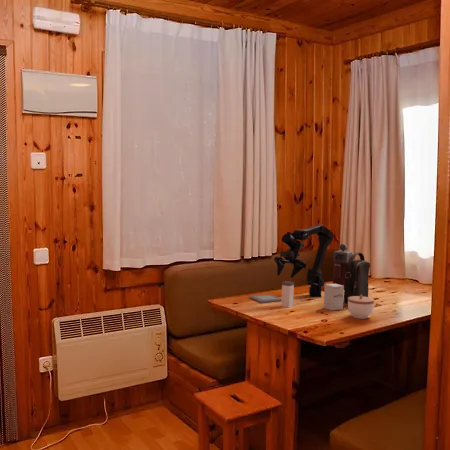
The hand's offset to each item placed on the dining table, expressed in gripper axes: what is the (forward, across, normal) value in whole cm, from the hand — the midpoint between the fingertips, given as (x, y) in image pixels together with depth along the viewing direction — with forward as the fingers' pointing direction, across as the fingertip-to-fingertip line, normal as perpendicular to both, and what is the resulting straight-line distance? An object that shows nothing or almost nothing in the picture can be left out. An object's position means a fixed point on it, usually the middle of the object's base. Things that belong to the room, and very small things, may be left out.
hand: (284, 276), depth 284 cm
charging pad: (+13, -12, +6) cm, 19 cm away
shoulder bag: (-3, +25, +36) cm, 44 cm away
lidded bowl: (+10, +44, +13) cm, 46 cm away
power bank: (+15, +6, +3) cm, 16 cm away
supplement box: (+8, +25, +16) cm, 31 cm away
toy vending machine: (-17, -3, +60) cm, 63 cm away
